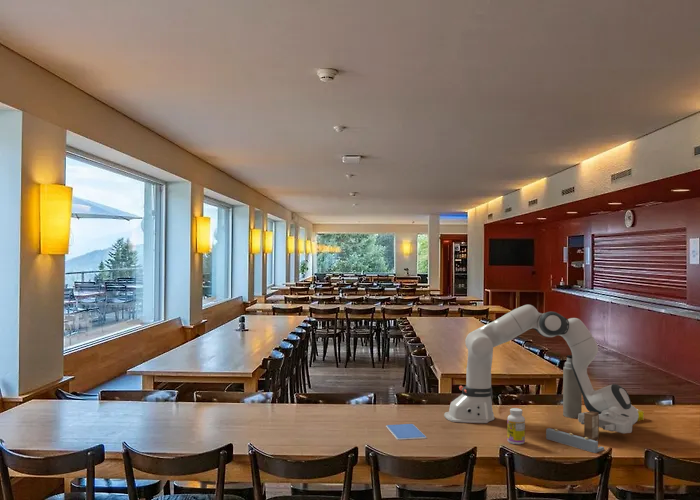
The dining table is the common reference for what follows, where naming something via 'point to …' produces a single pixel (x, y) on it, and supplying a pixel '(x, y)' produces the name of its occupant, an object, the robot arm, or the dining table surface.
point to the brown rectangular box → (591, 425)
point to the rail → (573, 440)
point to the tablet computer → (405, 432)
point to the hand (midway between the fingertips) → (593, 425)
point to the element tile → (640, 415)
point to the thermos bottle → (571, 392)
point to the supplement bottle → (516, 427)
